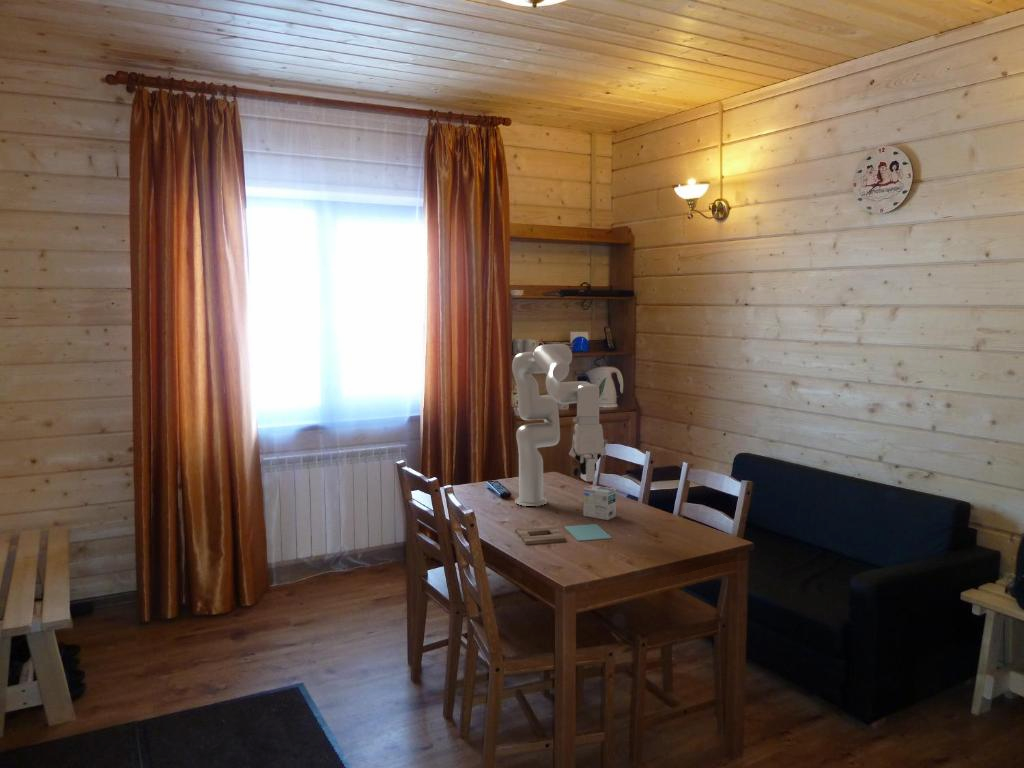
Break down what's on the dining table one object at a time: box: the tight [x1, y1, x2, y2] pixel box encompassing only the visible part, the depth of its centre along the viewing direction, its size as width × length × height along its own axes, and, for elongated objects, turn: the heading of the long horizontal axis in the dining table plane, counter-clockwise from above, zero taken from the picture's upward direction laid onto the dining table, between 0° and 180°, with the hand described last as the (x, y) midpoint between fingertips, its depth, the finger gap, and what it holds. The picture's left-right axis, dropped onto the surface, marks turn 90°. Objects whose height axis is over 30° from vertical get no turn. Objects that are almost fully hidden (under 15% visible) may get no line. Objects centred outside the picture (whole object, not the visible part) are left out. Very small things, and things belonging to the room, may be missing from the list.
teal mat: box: [563, 523, 613, 542], centre depth 264 cm, size 16×12×1 cm
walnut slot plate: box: [514, 525, 567, 545], centre depth 260 cm, size 14×14×1 cm
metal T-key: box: [580, 454, 597, 483], centre depth 261 cm, size 3×9×8 cm, turn 13°
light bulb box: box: [582, 484, 617, 521], centre depth 283 cm, size 11×7×11 cm, turn 56°
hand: (587, 472), depth 261 cm, fingers closed on metal T-key, 3 cm apart
